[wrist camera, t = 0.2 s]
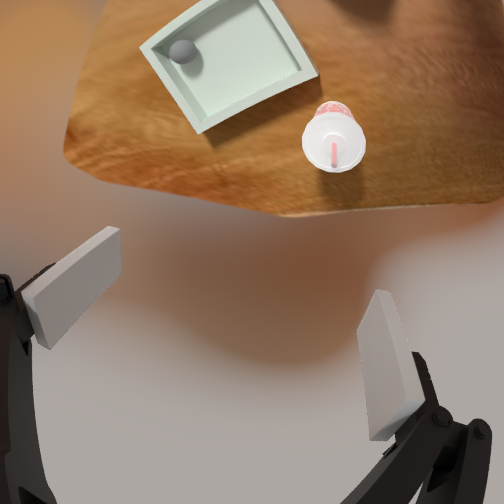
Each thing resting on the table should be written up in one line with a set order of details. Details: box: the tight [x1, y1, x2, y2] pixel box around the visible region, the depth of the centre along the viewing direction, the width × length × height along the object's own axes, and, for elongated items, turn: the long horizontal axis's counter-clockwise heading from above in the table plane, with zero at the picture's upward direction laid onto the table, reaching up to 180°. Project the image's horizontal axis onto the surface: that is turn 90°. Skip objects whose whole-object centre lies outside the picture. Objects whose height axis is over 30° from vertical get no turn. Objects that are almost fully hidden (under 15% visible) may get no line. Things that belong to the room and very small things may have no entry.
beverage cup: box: [302, 101, 366, 173], centre depth 28 cm, size 6×6×14 cm
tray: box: [139, 0, 319, 134], centre depth 28 cm, size 16×14×4 cm
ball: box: [169, 40, 197, 64], centre depth 28 cm, size 3×3×3 cm
